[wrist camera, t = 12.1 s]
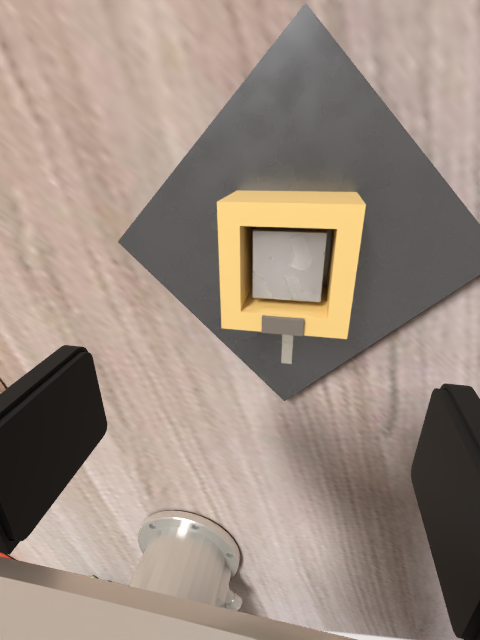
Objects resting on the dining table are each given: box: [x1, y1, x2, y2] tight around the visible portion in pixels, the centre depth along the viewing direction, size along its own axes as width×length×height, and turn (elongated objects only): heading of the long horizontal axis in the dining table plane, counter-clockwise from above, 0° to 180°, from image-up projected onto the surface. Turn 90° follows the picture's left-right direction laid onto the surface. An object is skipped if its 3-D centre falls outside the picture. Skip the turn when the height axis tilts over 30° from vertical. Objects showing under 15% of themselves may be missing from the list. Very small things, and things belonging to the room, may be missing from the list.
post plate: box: [118, 3, 480, 401], centre depth 23 cm, size 18×18×6 cm
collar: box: [217, 190, 366, 339], centre depth 22 cm, size 7×7×5 cm
